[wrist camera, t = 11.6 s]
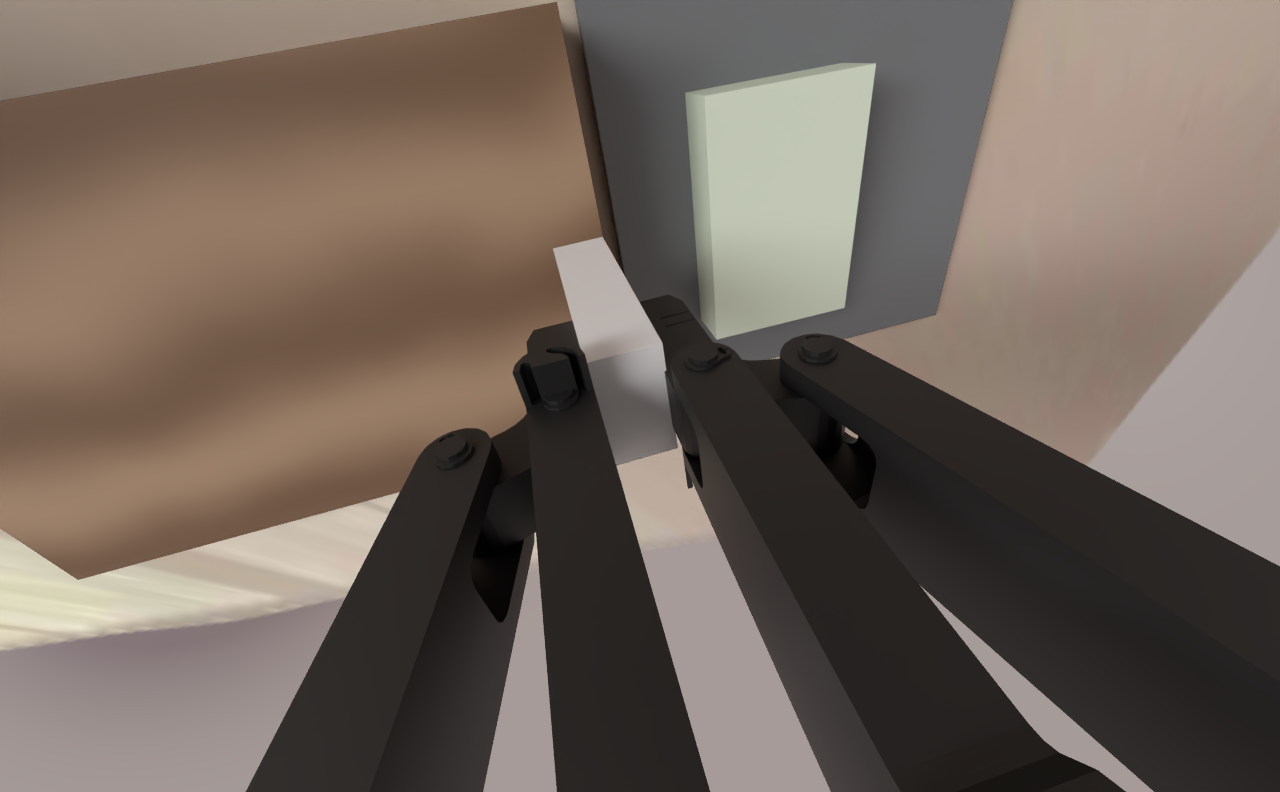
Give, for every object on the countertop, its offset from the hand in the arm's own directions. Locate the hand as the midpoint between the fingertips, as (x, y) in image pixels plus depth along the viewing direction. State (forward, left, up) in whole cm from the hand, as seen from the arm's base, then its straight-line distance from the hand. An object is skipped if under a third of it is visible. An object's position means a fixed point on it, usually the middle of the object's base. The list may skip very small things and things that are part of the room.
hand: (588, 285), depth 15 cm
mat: (0, +10, -5) cm, 11 cm away
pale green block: (+1, +8, -3) cm, 9 cm away
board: (0, -10, -5) cm, 11 cm away
